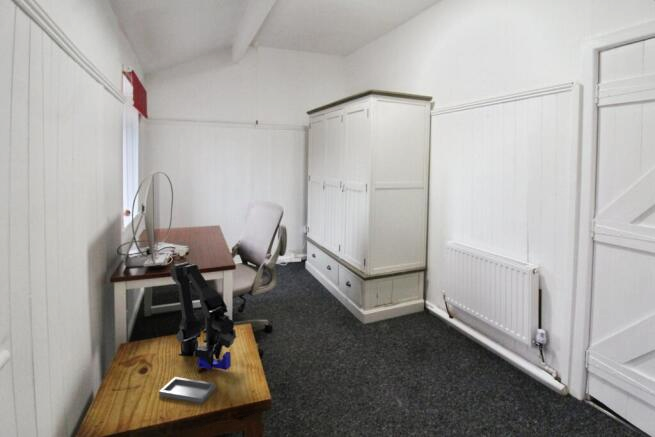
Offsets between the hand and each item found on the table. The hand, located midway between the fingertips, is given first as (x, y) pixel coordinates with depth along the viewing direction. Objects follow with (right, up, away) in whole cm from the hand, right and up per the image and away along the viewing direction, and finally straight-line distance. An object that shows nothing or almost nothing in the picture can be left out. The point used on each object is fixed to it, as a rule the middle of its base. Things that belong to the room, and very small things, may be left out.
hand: (214, 362), depth 146 cm
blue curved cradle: (0, -2, 0) cm, 2 cm away
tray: (-5, -6, -13) cm, 15 cm away
